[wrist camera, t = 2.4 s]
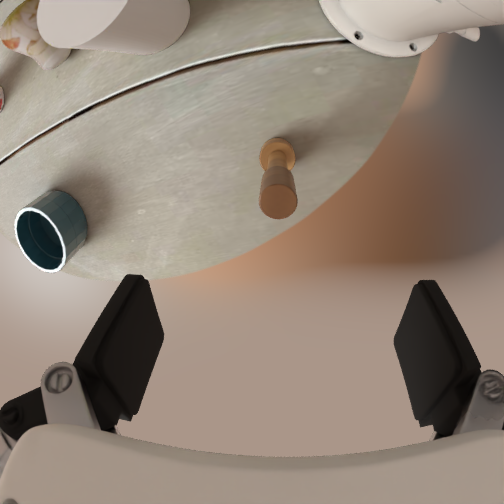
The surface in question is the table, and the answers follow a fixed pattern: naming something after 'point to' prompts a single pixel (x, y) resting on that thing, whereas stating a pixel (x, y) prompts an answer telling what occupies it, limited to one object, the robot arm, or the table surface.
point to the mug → (30, 37)
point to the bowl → (51, 230)
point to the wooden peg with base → (277, 179)
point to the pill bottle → (1, 98)
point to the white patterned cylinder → (113, 24)
